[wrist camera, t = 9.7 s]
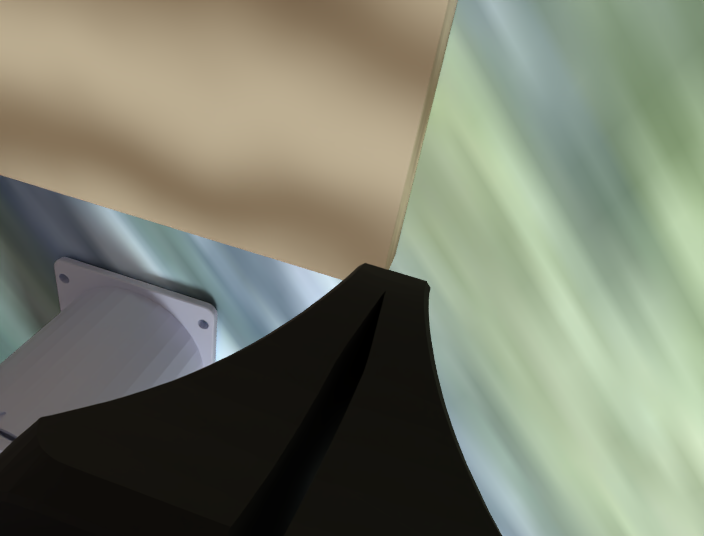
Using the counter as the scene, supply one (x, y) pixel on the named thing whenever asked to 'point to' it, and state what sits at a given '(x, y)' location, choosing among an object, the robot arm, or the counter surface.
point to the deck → (228, 115)
